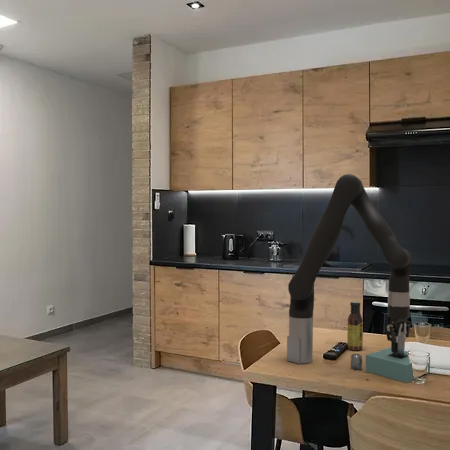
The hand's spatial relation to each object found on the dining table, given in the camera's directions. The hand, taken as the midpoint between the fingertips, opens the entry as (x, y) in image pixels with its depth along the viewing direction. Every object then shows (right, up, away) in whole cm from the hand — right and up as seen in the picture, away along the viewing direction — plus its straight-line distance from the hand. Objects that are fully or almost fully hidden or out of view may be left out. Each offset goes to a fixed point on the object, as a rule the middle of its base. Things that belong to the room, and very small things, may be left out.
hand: (397, 350), depth 183 cm
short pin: (-14, -8, +4) cm, 16 cm away
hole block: (0, -8, 0) cm, 8 cm away
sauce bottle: (-8, -7, +31) cm, 32 cm away
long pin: (0, -4, 0) cm, 4 cm away
